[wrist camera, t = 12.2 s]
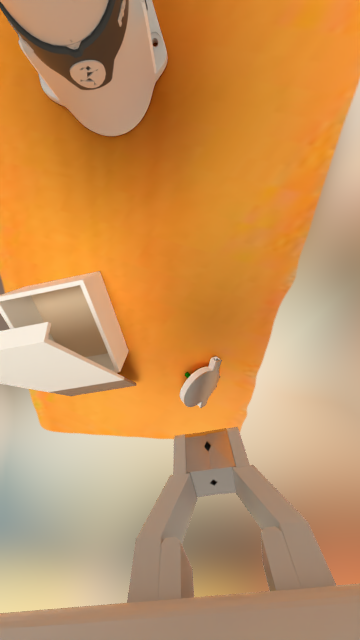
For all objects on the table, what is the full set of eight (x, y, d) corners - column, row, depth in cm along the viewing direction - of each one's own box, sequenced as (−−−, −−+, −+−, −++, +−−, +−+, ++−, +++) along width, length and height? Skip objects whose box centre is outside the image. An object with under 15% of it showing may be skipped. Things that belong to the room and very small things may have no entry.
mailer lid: (-81, 346, 25) (-92, 367, 23) (48, 321, 23) (43, 341, 22) (72, 385, 51) (70, 396, 50) (135, 375, 50) (136, 385, 49)
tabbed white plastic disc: (211, 401, 55) (193, 430, 45) (187, 386, 58) (165, 410, 49) (227, 357, 49) (210, 380, 39) (199, 343, 52) (177, 362, 43)
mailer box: (24, 286, 42) (-9, 298, 34) (99, 271, 41) (82, 279, 33) (64, 362, 50) (45, 384, 43) (128, 351, 49) (120, 372, 41)
